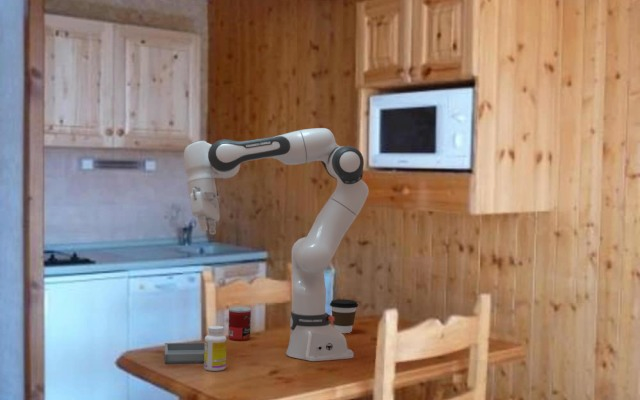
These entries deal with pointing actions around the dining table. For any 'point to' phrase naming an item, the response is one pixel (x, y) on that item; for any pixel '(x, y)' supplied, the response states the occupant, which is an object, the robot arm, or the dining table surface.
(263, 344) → the dining table surface
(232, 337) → the canned food
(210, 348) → the supplement bottle
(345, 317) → the coffee cup
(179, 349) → the tray
